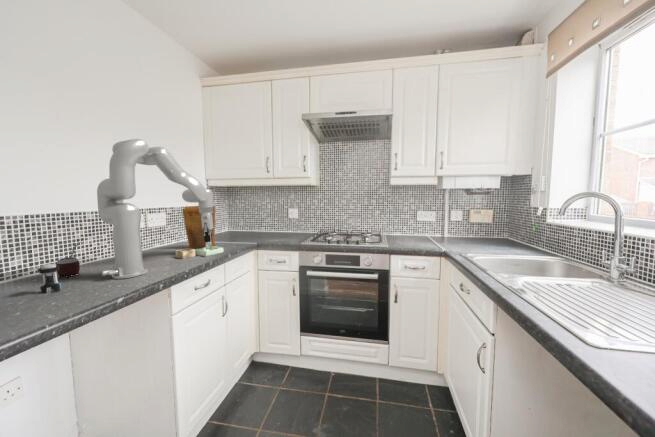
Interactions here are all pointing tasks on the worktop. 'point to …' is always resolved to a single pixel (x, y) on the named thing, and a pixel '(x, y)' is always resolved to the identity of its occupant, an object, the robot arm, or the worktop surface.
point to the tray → (209, 251)
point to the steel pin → (208, 244)
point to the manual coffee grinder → (68, 265)
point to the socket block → (185, 253)
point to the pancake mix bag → (196, 227)
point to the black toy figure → (49, 278)
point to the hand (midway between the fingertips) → (208, 241)
